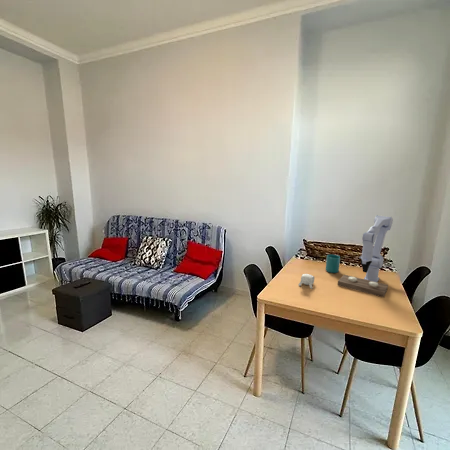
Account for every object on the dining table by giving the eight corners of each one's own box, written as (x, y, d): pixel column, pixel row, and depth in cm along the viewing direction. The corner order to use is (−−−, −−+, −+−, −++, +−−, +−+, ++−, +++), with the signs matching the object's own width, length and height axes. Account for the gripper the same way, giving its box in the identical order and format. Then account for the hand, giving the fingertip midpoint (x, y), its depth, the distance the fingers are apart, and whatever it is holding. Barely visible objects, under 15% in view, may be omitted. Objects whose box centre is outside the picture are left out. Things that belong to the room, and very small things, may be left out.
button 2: (369, 287, 170) (369, 280, 169) (378, 289, 166) (378, 282, 166) (367, 289, 166) (368, 283, 165) (376, 292, 163) (377, 285, 162)
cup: (339, 268, 201) (341, 254, 199) (337, 274, 191) (339, 259, 189) (327, 266, 206) (328, 252, 203) (324, 271, 195) (325, 257, 193)
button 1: (348, 282, 177) (349, 276, 176) (357, 284, 174) (357, 278, 173) (346, 284, 173) (347, 278, 172) (355, 286, 170) (355, 280, 169)
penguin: (301, 285, 178) (295, 285, 165) (303, 273, 179) (298, 271, 166) (314, 288, 174) (310, 288, 161) (316, 275, 175) (312, 274, 162)
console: (343, 278, 183) (344, 274, 183) (387, 289, 167) (388, 284, 167) (337, 285, 172) (337, 280, 172) (383, 297, 157) (384, 292, 156)
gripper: (363, 247, 175) (360, 267, 178) (357, 252, 164) (355, 273, 167) (375, 249, 171) (372, 269, 174) (370, 255, 160) (367, 276, 163)
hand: (364, 271), depth 170 cm, fingers closed
